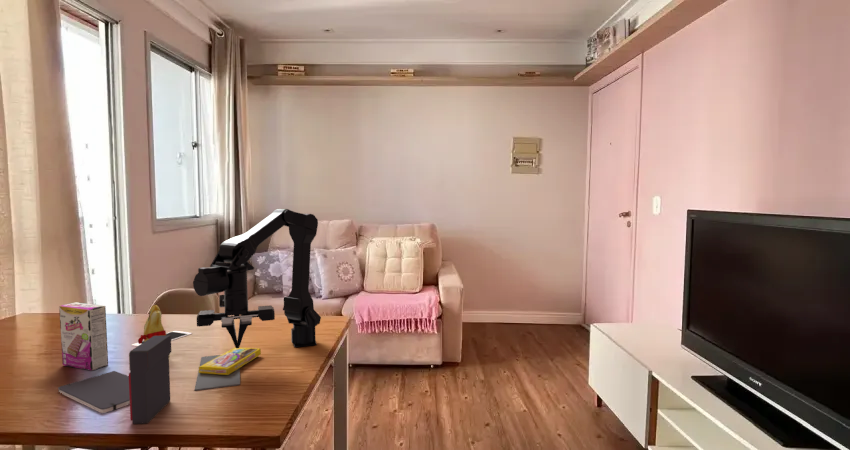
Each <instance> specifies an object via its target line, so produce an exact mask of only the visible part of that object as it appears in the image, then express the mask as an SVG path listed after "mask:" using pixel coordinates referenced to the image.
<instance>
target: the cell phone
mask: <svg viewBox="0 0 850 450" xmlns="http://www.w3.org/2000/svg"><path fill="white" fill-rule="evenodd" d="M192 334H193V332H187V331H182V330H181V331H179V330H173V331H169V332H166V336H167V335H170V336H171V342H172V341H175V340H179V339H181V338H184V337H187V336H190V335H192ZM142 343H144V340H143V341H142ZM142 343H140V344H139V343H138V342H135V343H132V344H131V346H132V347H137V346H139V345H141V344H142Z"/></svg>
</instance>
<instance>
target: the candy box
mask: <svg viewBox="0 0 850 450" xmlns="http://www.w3.org/2000/svg"><path fill="white" fill-rule="evenodd" d="M219 355H220V356H218V357H217V358H215V359H213V360H211V361H209V362H207V363H206V364H204V365H202V366H200V365H199V366H200V367H199V366H198V371H199V373H203V374H217V375H229V374H231V373H232V372H234V371H235V370H237V369H239V368H240V369H241V368H242V367H243V366H245V365H247V364H248V363H249V362H251V361H253V360H255V359H256V358H258V357H259V356H261V355H262V352H261V348H258V347H257V348H256V347H239V348H236V347H235V346H234V348H231V349H229V350H228V351H225V352H223V353H222V354H219Z"/></svg>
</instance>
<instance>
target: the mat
mask: <svg viewBox="0 0 850 450" xmlns="http://www.w3.org/2000/svg"><path fill="white" fill-rule="evenodd" d="M220 355H221V354H217V355H216V354H215V355H208V356H207V355H206V356H201V357H200V362H199V366H198V368H199V367H200V366H202V365H204V364H206V363H207V362H209V361H211V360H213V359H215V358H217V357H218V356H220ZM235 386H241V367H240V368H239V369H237V370H235V371H234V372H232V373H231V374H229V375H217V374H203V373H199V370H198V371H197V376H196V381H195V385H194V390H193V391H195V392H197V391H204V390H212V389H218V388H227V387H235Z"/></svg>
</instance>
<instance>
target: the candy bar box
mask: <svg viewBox="0 0 850 450" xmlns="http://www.w3.org/2000/svg"><path fill="white" fill-rule="evenodd" d="M106 308H107V307H106V305H103V304H96V303H95V304H93V303H85V302H78V301H75V302H71V303H66V304H61V305H59V306H58V310H59V324H60V341H61V359H62V360H61V362H62V366H63V365H64V367H68V368H76V369H81V370H87V371H92V372H93V371H96V370H98V369H101V368H104V367H107V366H109V352H108V335H107V334H108V333H107V313H106V311H107V309H106Z"/></svg>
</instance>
